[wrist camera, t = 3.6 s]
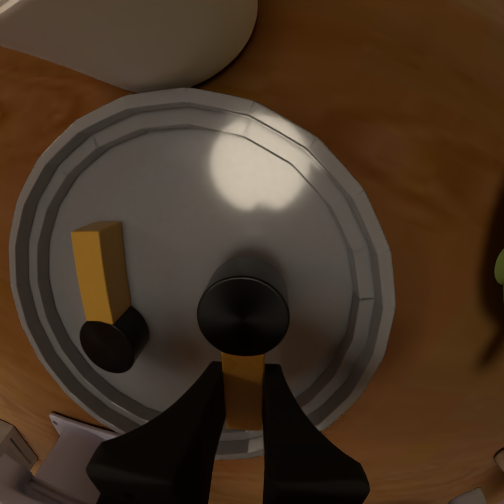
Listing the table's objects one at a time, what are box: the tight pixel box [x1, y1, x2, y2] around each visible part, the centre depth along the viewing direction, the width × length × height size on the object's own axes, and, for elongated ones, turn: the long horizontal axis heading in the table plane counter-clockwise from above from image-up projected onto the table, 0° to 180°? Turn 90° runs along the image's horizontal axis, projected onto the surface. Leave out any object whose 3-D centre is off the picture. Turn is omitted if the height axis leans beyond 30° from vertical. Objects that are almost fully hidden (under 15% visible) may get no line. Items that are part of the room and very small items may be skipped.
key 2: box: [71, 221, 149, 373], centre depth 14 cm, size 7×3×2 cm, turn 0°
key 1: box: [197, 257, 290, 431], centre depth 12 cm, size 7×3×2 cm, turn 0°
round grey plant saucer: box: [9, 87, 396, 460], centre depth 14 cm, size 19×19×3 cm
